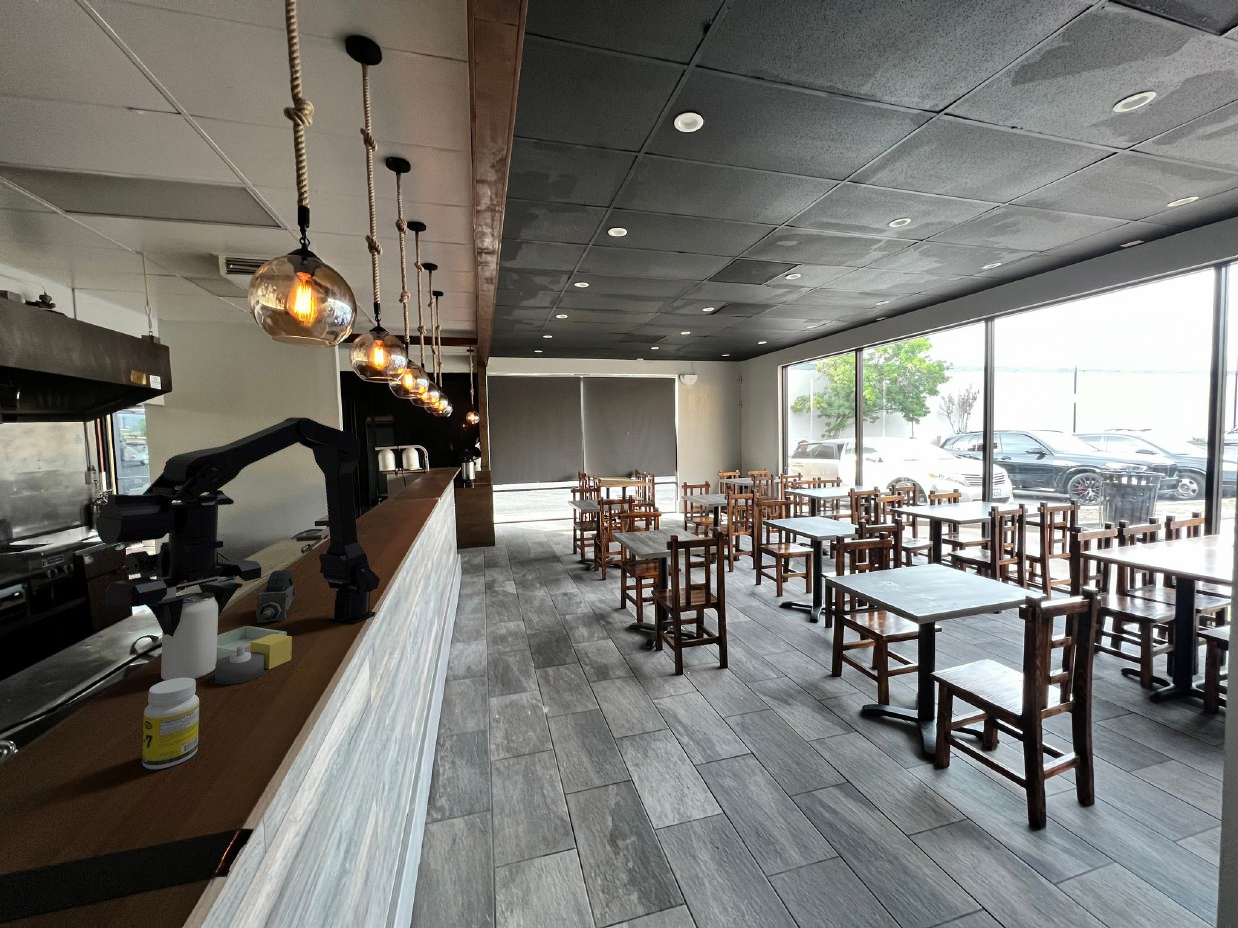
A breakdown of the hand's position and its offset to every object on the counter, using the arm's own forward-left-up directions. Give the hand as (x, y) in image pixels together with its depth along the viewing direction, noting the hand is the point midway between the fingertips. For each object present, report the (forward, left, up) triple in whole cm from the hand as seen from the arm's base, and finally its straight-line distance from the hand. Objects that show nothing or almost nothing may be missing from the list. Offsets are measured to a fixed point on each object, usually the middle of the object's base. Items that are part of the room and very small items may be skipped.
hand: (189, 635), depth 77 cm
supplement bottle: (+16, +20, -6) cm, 26 cm away
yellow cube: (-7, +7, -6) cm, 12 cm away
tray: (-9, -1, -6) cm, 11 cm away
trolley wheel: (-2, +7, -6) cm, 10 cm away
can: (0, 0, -6) cm, 6 cm away
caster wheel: (-25, -12, -6) cm, 28 cm away
